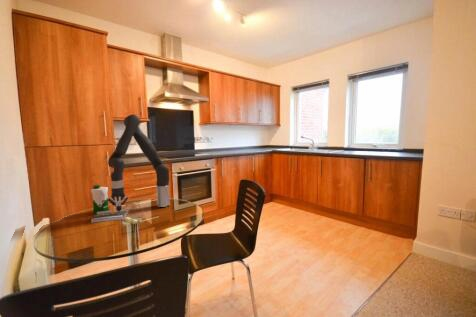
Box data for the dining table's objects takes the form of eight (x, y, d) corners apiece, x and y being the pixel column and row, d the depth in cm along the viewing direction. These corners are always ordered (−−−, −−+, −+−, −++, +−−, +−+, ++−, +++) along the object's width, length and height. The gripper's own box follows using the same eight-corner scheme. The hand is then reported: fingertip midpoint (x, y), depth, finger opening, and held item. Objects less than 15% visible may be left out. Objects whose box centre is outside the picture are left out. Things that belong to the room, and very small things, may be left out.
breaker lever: (117, 213, 150) (116, 204, 149) (116, 214, 147) (115, 205, 146) (110, 213, 149) (109, 204, 148) (109, 215, 146) (108, 206, 145)
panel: (128, 212, 157) (128, 210, 157) (125, 219, 145) (125, 216, 144) (97, 215, 151) (97, 213, 151) (91, 222, 139) (90, 220, 138)
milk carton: (99, 209, 162) (97, 184, 159) (111, 209, 161) (109, 184, 159) (91, 214, 153) (88, 187, 150) (103, 214, 153) (101, 187, 150)
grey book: (127, 210, 156) (127, 208, 156) (123, 217, 144) (123, 214, 144) (97, 213, 151) (97, 211, 151) (91, 220, 139) (91, 218, 138)
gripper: (129, 184, 152) (130, 208, 154) (108, 185, 148) (109, 209, 150) (127, 187, 145) (128, 211, 147) (105, 188, 141) (106, 213, 143)
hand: (119, 210), depth 149 cm, fingers closed
